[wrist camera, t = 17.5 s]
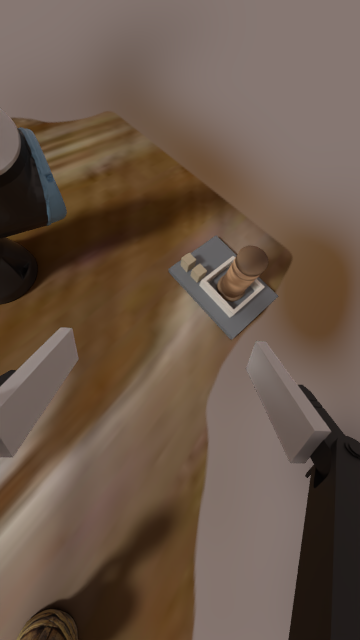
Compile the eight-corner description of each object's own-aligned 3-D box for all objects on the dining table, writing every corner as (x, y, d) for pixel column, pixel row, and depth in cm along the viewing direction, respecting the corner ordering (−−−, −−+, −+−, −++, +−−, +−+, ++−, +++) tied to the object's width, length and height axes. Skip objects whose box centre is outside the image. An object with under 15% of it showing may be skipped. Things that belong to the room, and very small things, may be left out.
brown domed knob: (210, 286, 44) (227, 256, 33) (229, 271, 46) (252, 237, 35) (230, 307, 43) (254, 282, 32) (249, 290, 45) (278, 262, 34)
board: (168, 272, 46) (169, 261, 42) (214, 239, 50) (219, 226, 46) (230, 339, 43) (238, 335, 38) (274, 298, 47) (286, 290, 42)
